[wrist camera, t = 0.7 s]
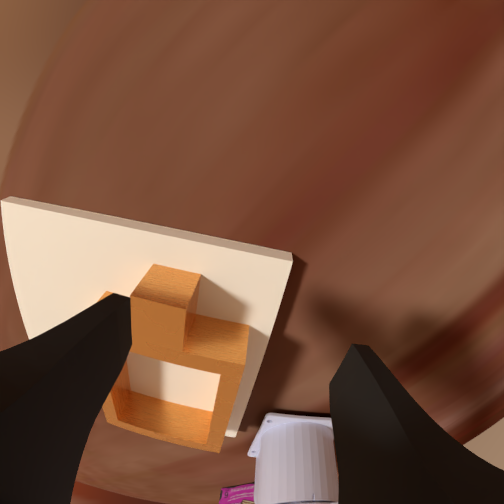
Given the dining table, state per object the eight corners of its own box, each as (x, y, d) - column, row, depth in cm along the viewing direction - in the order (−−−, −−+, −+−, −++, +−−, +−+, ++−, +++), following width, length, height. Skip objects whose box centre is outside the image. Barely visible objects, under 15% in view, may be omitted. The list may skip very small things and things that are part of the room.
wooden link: (224, 420, 24) (219, 452, 20) (120, 393, 23) (107, 422, 20) (259, 286, 17) (256, 324, 14) (104, 251, 17) (74, 279, 14)
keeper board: (236, 428, 26) (229, 487, 20) (48, 369, 25) (19, 412, 19) (291, 252, 18) (302, 328, 11) (10, 196, 17) (-53, 228, 11)
